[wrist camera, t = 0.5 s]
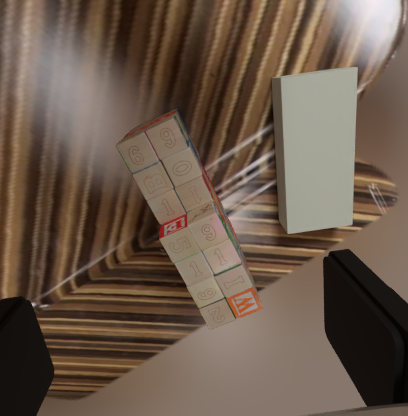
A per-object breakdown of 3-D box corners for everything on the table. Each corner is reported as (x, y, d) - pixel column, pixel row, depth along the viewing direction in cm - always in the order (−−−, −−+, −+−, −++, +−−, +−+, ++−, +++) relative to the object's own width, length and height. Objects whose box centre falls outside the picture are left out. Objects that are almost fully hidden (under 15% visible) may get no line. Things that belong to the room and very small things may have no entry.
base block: (271, 77, 39) (280, 77, 35) (340, 67, 39) (357, 67, 35) (279, 221, 45) (287, 234, 41) (338, 212, 45) (352, 224, 42)
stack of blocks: (129, 129, 40) (107, 151, 28) (177, 106, 39) (175, 119, 28) (203, 270, 48) (209, 332, 36) (244, 253, 47) (264, 310, 35)
